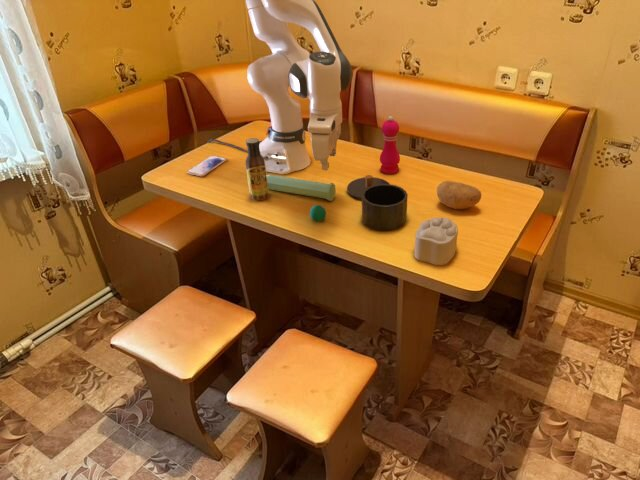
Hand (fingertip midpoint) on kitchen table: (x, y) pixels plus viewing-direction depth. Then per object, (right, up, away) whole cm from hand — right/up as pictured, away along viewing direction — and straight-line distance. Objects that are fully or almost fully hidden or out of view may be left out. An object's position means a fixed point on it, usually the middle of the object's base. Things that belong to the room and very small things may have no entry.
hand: (329, 161), depth 146 cm
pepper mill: (+20, +4, +33) cm, 39 cm away
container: (-12, -6, +21) cm, 25 cm away
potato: (+40, -12, +12) cm, 44 cm away
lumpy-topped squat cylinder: (+31, -26, -6) cm, 41 cm away
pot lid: (+12, -4, +21) cm, 25 cm away
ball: (-4, -16, +7) cm, 18 cm away
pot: (+17, -16, +7) cm, 24 cm away
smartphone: (-48, +6, +38) cm, 61 cm away
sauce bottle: (-24, -8, +20) cm, 32 cm away
